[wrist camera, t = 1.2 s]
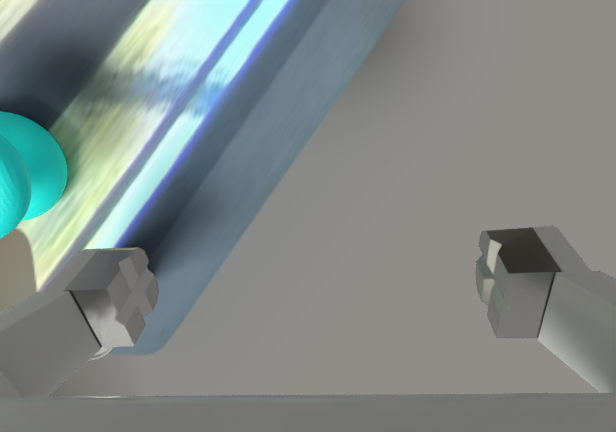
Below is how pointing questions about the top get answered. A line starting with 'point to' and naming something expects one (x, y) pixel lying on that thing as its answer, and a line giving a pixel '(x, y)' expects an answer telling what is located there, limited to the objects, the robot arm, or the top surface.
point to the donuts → (28, 171)
